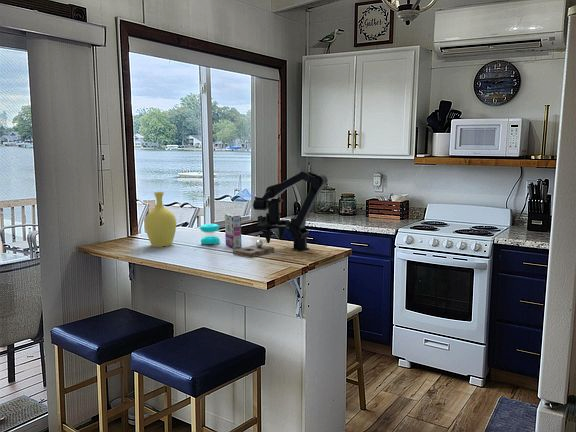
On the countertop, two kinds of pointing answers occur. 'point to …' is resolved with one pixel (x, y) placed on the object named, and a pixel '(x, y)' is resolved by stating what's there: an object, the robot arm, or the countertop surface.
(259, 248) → the walnut plate
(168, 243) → the vase
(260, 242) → the steel ball
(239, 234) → the candy bar box
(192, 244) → the countertop surface
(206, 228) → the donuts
